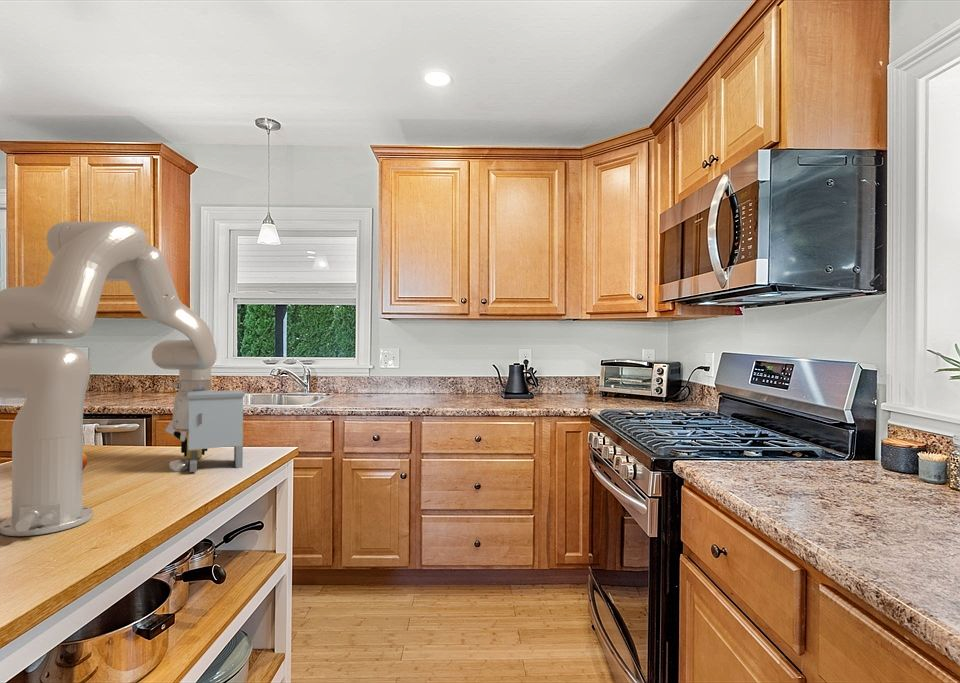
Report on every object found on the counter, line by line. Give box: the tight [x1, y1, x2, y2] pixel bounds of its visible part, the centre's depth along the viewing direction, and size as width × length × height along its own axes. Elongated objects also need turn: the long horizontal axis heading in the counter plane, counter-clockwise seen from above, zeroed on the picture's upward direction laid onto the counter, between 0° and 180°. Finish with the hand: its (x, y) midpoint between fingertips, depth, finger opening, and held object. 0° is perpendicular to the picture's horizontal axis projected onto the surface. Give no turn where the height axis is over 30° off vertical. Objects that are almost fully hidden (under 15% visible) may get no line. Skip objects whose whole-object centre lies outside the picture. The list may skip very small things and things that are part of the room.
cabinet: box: [188, 389, 246, 469], centre depth 132 cm, size 9×13×19 cm
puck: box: [168, 458, 190, 473], centre depth 128 cm, size 4×4×2 cm
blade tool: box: [186, 430, 203, 473], centre depth 133 cm, size 19×4×7 cm, turn 28°
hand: (194, 454), depth 139 cm, fingers closed on blade tool, 3 cm apart
